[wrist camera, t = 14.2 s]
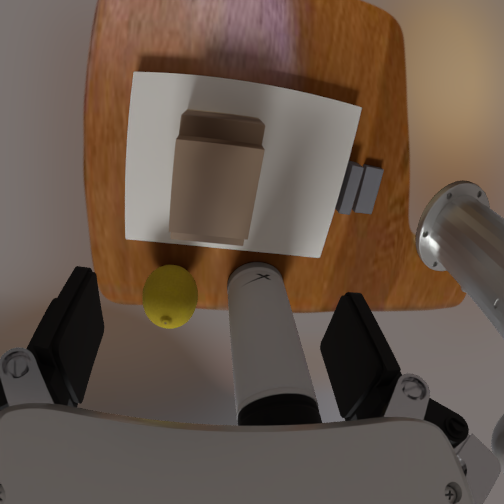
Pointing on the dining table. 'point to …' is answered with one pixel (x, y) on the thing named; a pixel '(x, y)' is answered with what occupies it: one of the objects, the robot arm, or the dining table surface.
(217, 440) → the robot arm
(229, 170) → the block
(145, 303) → the lemon
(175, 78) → the board
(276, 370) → the travel mug
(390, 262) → the dining table surface
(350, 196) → the dark grey block
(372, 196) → the dark grey block
